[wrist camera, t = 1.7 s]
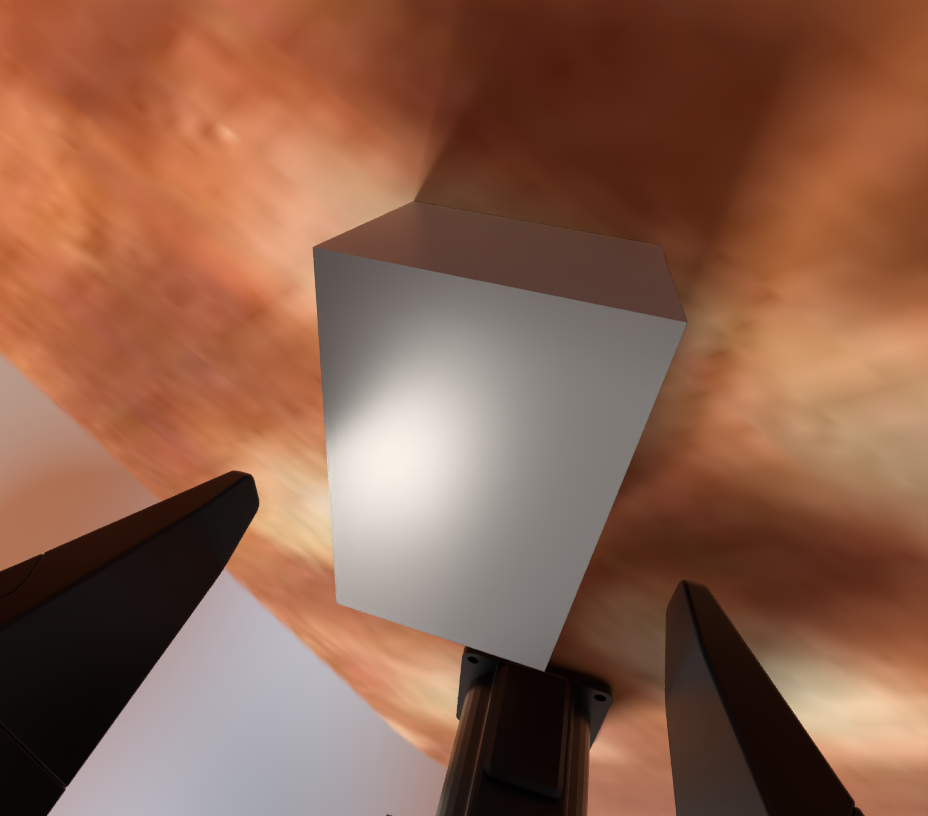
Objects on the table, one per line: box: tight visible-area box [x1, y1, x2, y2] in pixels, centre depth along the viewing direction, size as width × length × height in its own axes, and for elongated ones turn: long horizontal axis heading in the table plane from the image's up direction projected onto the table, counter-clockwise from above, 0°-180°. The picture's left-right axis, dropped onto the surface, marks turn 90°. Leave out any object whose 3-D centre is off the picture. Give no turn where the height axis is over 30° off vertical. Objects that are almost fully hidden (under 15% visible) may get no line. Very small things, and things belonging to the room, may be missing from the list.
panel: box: [313, 201, 687, 672], centre depth 12 cm, size 10×6×5 cm, turn 173°
